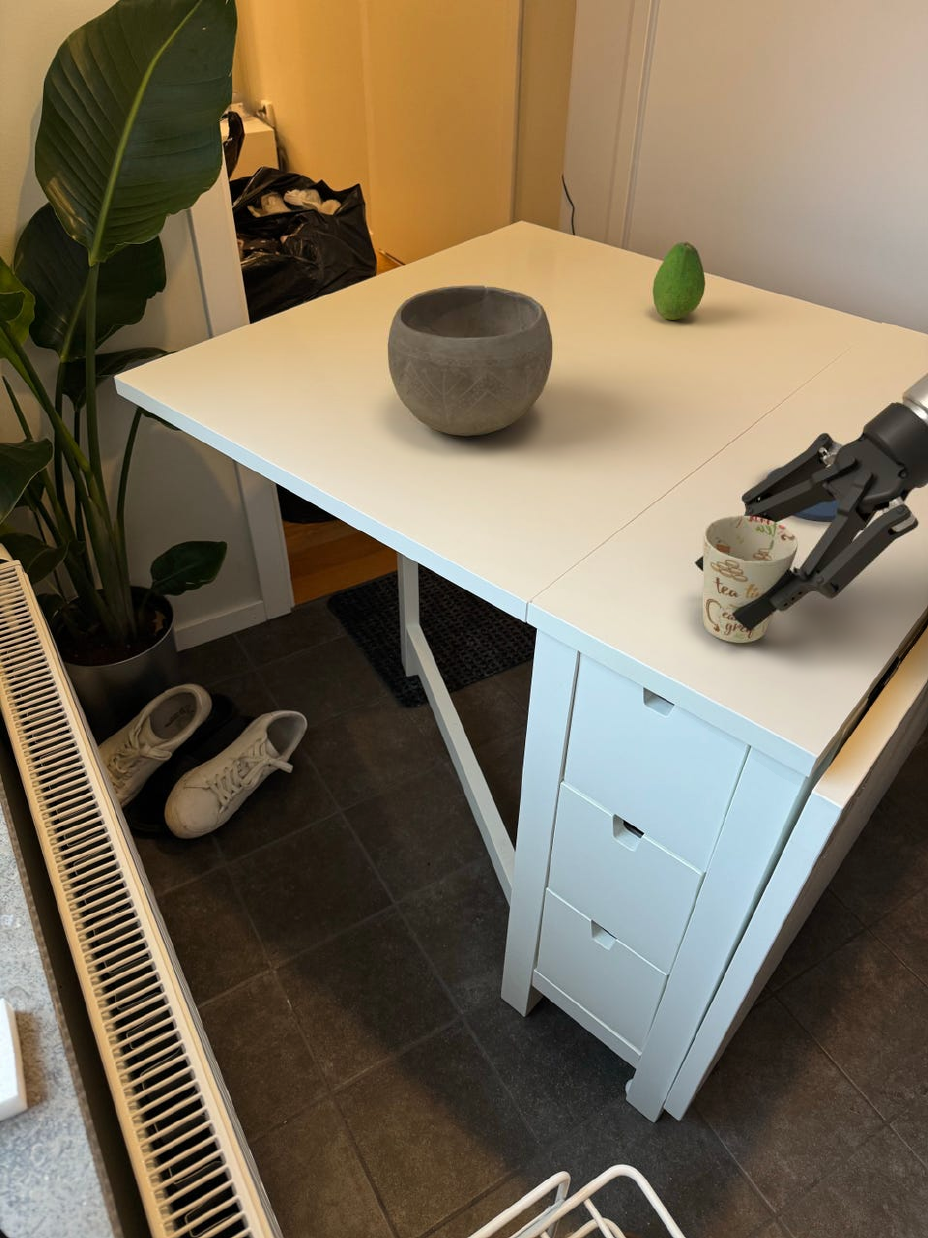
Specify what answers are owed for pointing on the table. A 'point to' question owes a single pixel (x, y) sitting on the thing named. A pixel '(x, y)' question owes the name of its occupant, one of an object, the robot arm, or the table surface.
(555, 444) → the table surface
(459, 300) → the bowl
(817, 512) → the coaster
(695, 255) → the fruit
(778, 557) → the mug
